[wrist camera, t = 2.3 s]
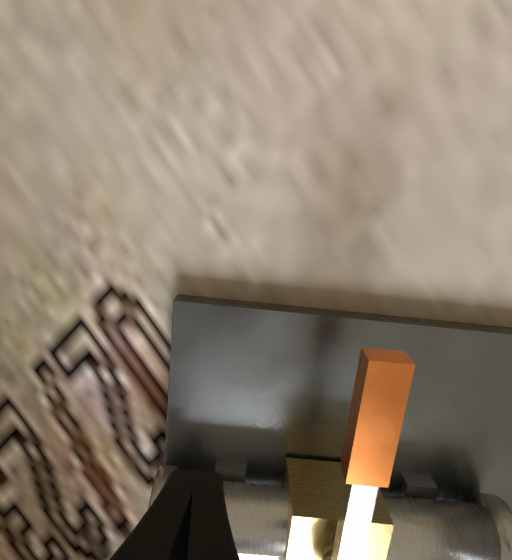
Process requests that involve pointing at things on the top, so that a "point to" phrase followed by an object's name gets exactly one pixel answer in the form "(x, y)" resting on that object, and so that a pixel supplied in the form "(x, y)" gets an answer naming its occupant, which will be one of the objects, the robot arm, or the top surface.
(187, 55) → the top surface
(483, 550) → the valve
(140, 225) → the top surface
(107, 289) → the top surface
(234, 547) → the robot arm
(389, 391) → the lever
